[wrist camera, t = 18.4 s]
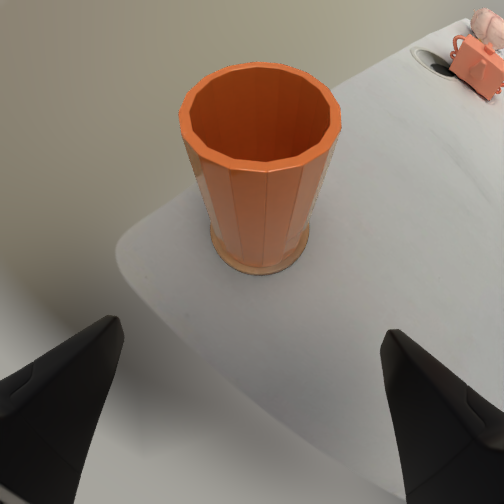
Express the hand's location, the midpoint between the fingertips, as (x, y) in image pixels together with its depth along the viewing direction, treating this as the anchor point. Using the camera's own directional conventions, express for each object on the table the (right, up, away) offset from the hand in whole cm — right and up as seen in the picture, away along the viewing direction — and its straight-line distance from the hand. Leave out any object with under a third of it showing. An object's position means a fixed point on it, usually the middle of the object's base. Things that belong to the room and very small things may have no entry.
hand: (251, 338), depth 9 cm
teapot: (+37, +31, +24) cm, 54 cm away
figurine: (+54, +51, +30) cm, 81 cm away
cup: (+1, +5, +15) cm, 16 cm away
